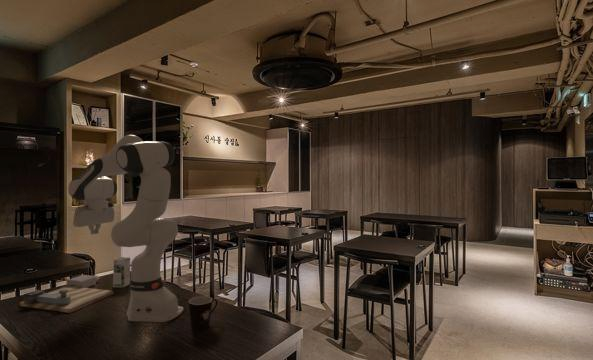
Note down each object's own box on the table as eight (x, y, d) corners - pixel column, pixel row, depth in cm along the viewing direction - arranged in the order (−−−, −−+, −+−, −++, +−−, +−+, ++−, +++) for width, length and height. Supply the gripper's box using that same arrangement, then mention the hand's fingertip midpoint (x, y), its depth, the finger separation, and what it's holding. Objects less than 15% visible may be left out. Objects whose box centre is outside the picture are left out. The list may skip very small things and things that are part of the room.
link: (73, 301, 145) (73, 295, 145) (62, 305, 140) (62, 299, 140) (37, 297, 150) (37, 291, 150) (26, 301, 145) (26, 295, 145)
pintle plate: (113, 294, 160) (113, 279, 160) (69, 313, 137) (69, 296, 137) (67, 288, 166) (68, 274, 166) (18, 306, 144) (18, 289, 143)
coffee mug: (190, 333, 121) (190, 306, 121) (186, 324, 128) (186, 298, 128) (222, 327, 126) (222, 301, 126) (216, 318, 134) (216, 293, 134)
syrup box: (112, 287, 169) (112, 258, 169) (120, 283, 175) (120, 256, 175) (122, 288, 168) (123, 259, 168) (130, 284, 174) (130, 256, 174)
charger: (105, 281, 179) (81, 290, 164) (91, 280, 181) (66, 289, 167) (105, 272, 179) (81, 281, 164) (91, 271, 181) (66, 279, 167)
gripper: (81, 206, 146) (80, 238, 147) (116, 203, 166) (116, 231, 166) (69, 206, 148) (69, 237, 148) (106, 202, 168) (106, 230, 168)
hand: (94, 233), depth 157 cm, fingers closed
